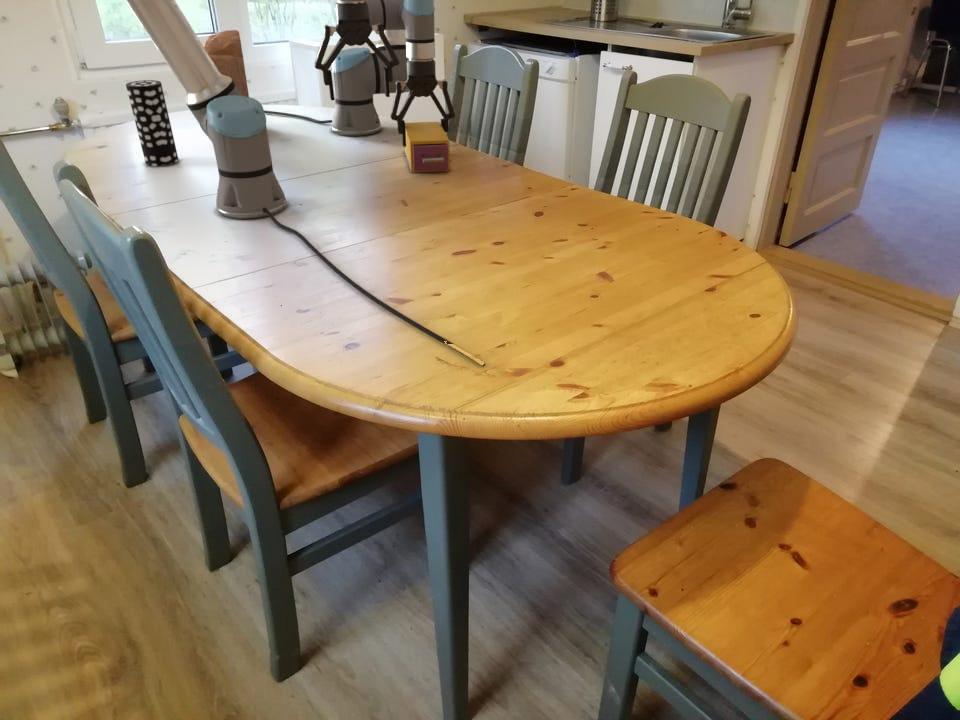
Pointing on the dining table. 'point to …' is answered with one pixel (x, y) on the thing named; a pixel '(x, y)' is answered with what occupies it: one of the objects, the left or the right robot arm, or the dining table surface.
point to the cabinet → (423, 139)
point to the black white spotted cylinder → (152, 122)
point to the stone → (228, 57)
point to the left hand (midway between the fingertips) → (360, 97)
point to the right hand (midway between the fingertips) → (423, 144)
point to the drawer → (430, 157)
